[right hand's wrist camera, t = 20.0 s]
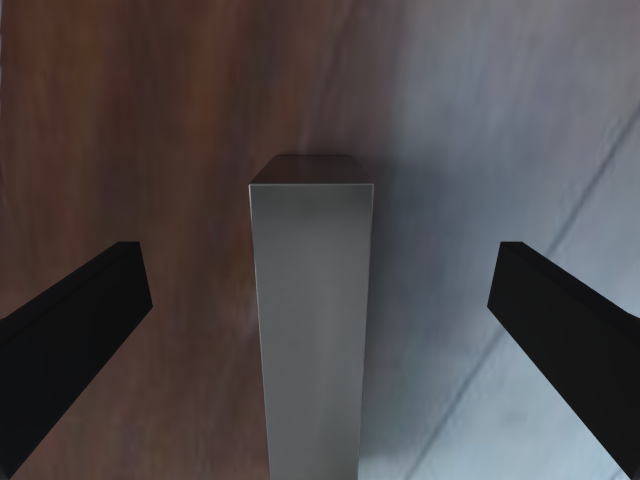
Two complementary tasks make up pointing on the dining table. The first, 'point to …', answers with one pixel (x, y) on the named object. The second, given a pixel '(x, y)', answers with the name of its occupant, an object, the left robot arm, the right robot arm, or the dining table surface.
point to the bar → (312, 310)
